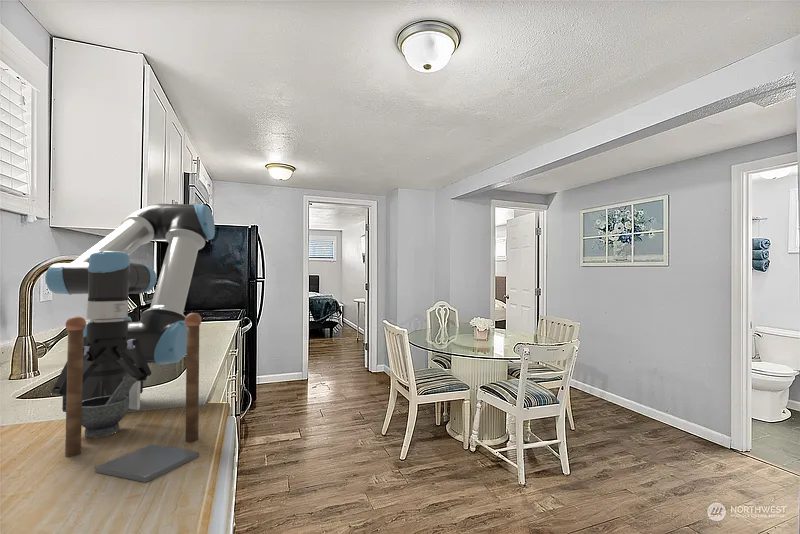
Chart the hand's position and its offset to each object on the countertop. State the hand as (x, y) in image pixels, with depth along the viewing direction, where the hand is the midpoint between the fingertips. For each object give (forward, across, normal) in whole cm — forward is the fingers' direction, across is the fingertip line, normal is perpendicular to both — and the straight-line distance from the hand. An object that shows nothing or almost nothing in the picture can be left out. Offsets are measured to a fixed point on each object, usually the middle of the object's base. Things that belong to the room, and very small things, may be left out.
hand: (105, 417), depth 92 cm
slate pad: (+4, -9, -24) cm, 26 cm away
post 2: (+3, +3, -22) cm, 22 cm away
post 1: (+3, -10, -6) cm, 12 cm away
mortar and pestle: (+4, 0, 0) cm, 4 cm away
